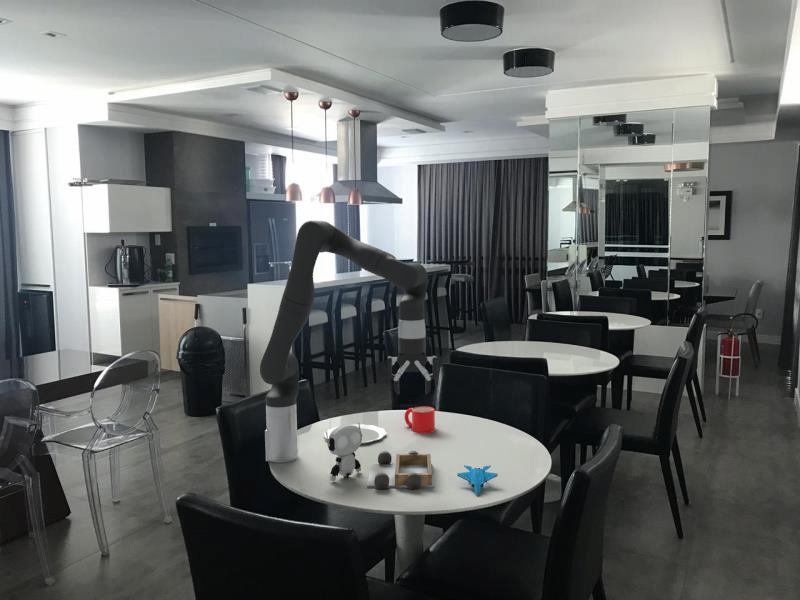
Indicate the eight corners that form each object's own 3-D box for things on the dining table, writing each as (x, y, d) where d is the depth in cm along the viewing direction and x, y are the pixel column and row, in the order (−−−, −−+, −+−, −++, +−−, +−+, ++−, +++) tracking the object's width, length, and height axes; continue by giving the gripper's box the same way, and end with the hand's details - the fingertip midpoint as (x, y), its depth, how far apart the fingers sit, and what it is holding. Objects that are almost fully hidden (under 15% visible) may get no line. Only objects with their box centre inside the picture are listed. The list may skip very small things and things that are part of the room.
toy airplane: (453, 482, 182) (452, 467, 181) (482, 475, 186) (482, 460, 185) (477, 496, 171) (476, 481, 171) (508, 488, 176) (507, 473, 175)
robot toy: (335, 485, 180) (334, 432, 179) (325, 481, 183) (323, 429, 182) (368, 474, 189) (367, 422, 187) (358, 470, 192) (357, 419, 190)
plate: (312, 437, 225) (312, 432, 225) (360, 425, 238) (360, 420, 238) (349, 451, 209) (348, 446, 209) (398, 438, 223) (398, 433, 223)
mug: (410, 425, 237) (410, 403, 236) (439, 430, 230) (438, 408, 229) (398, 430, 231) (397, 408, 230) (426, 436, 224) (426, 413, 223)
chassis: (366, 489, 177) (366, 475, 176) (371, 464, 197) (371, 451, 196) (434, 489, 176) (433, 475, 176) (431, 463, 196) (431, 450, 196)
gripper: (385, 337, 179) (386, 397, 181) (438, 337, 179) (438, 396, 180) (386, 333, 187) (387, 390, 188) (437, 333, 186) (437, 390, 188)
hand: (412, 393), depth 184 cm, fingers open, 7 cm apart
